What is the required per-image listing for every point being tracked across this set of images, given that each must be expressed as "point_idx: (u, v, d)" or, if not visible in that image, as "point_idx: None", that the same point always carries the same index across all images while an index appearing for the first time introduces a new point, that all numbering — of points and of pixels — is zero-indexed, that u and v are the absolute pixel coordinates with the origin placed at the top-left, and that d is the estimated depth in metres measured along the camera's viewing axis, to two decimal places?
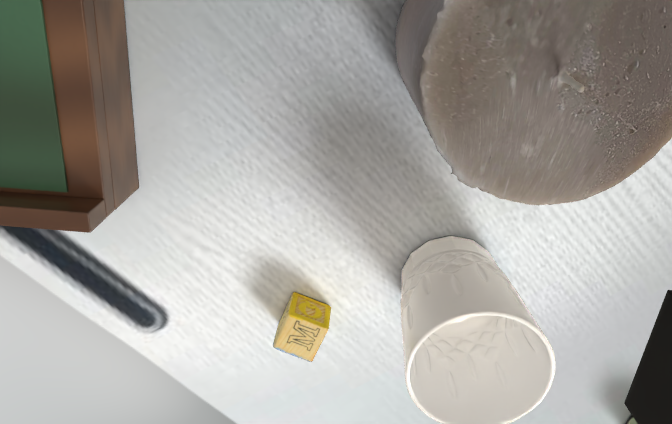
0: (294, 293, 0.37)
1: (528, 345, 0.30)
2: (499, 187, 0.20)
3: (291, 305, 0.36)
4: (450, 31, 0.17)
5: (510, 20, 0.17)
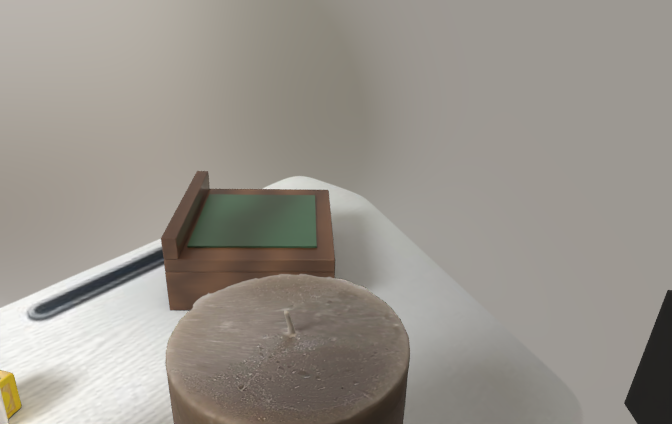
0: (20, 405, 0.34)
1: None
2: (191, 316, 0.22)
3: (15, 385, 0.34)
4: (318, 281, 0.24)
5: (330, 302, 0.23)
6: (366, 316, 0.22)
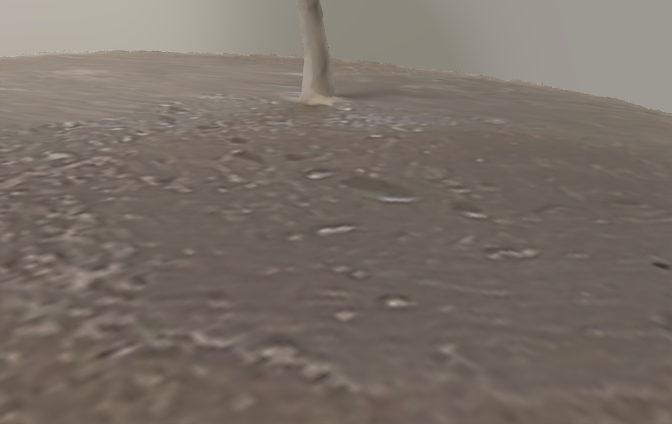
0: None
1: None
2: None
3: None
4: (399, 67, 0.09)
5: (446, 80, 0.07)
6: (584, 104, 0.06)
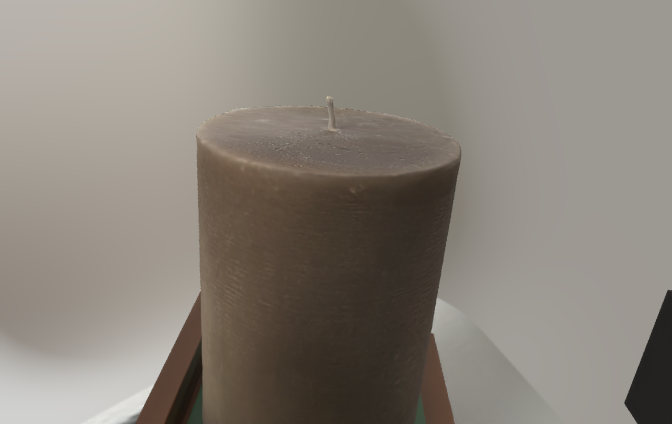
0: None
1: None
2: (226, 115, 0.20)
3: None
4: (361, 112, 0.23)
5: (374, 120, 0.21)
6: (413, 129, 0.20)
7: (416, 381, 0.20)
